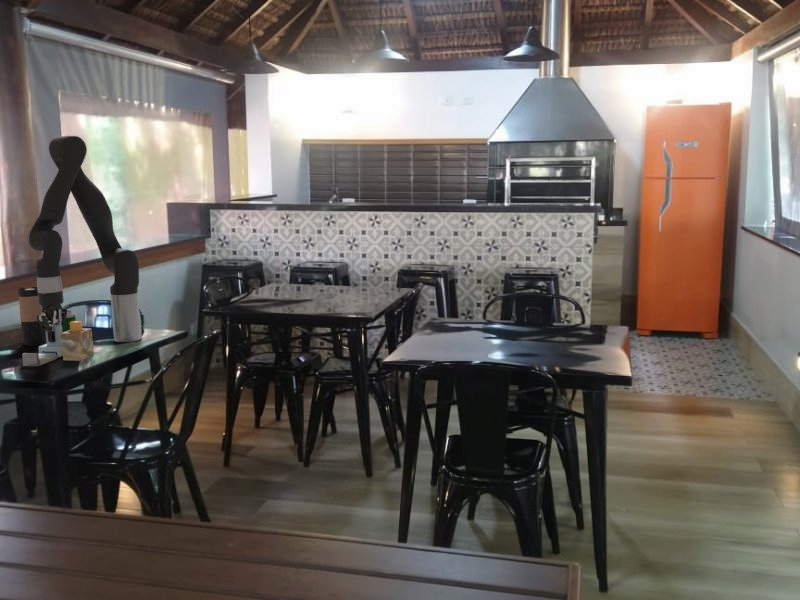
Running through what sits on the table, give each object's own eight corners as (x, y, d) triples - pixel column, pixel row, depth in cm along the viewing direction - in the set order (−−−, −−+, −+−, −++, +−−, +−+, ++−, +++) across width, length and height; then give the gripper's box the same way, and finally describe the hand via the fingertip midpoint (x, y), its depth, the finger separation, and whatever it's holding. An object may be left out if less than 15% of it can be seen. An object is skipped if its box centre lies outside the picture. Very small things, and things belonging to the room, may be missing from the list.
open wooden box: (77, 354, 255) (75, 328, 253) (94, 354, 254) (92, 328, 252) (62, 360, 247) (60, 333, 245) (80, 361, 246) (78, 334, 244)
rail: (65, 348, 263) (64, 337, 262) (78, 349, 262) (77, 338, 261) (23, 366, 241) (22, 353, 240) (37, 366, 240) (36, 354, 239)
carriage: (52, 350, 257) (49, 323, 256) (72, 351, 256) (70, 323, 254) (39, 355, 250) (36, 327, 249) (60, 356, 249) (57, 328, 248)
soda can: (81, 344, 269) (78, 311, 266) (59, 348, 263) (56, 314, 261) (72, 341, 274) (69, 308, 272) (51, 345, 269) (48, 311, 267)
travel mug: (37, 346, 267) (31, 290, 264) (18, 345, 269) (12, 289, 265) (51, 341, 275) (46, 286, 271) (32, 340, 276) (27, 286, 273)
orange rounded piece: (75, 335, 251) (73, 320, 251) (85, 335, 251) (83, 320, 250) (68, 337, 248) (67, 323, 247) (78, 338, 247) (77, 323, 246)
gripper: (52, 286, 257) (57, 336, 260) (26, 293, 243) (31, 345, 246) (72, 286, 256) (77, 336, 259) (47, 293, 242) (52, 346, 245)
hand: (54, 340), depth 252 cm, fingers closed on carriage, 2 cm apart
